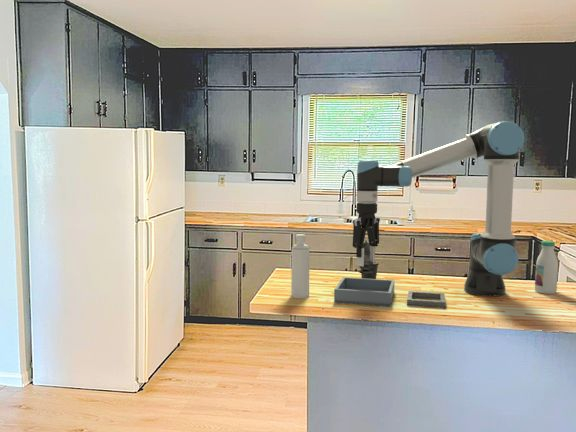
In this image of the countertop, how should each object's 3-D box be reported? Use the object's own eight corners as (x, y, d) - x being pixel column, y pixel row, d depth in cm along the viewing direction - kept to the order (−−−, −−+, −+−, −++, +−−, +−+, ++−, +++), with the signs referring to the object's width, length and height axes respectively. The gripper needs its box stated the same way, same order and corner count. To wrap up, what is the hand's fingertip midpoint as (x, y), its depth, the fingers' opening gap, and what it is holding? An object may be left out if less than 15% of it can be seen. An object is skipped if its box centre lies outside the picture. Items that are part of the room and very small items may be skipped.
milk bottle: (556, 290, 210) (559, 240, 208) (556, 295, 203) (559, 243, 201) (534, 288, 214) (537, 239, 211) (534, 293, 207) (537, 242, 204)
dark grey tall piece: (376, 271, 199) (377, 240, 197) (367, 274, 194) (368, 241, 193) (363, 269, 203) (363, 238, 201) (354, 272, 198) (355, 240, 197)
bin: (394, 292, 207) (394, 280, 206) (390, 306, 187) (390, 292, 187) (342, 289, 212) (343, 277, 211) (334, 302, 192) (334, 289, 192)
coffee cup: (364, 281, 226) (364, 258, 225) (382, 284, 221) (382, 260, 220) (355, 285, 219) (355, 261, 218) (373, 288, 214) (373, 263, 213)
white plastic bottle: (297, 292, 206) (298, 228, 204) (312, 295, 203) (312, 230, 200) (287, 296, 201) (288, 230, 198) (302, 299, 197) (303, 232, 194)
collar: (444, 298, 199) (444, 293, 198) (445, 308, 186) (445, 302, 186) (408, 296, 202) (408, 290, 202) (407, 305, 189) (407, 299, 189)
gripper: (359, 204, 186) (358, 269, 189) (390, 201, 200) (388, 262, 202) (342, 203, 192) (341, 266, 194) (373, 200, 205) (372, 259, 207)
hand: (365, 264), depth 198 cm, fingers closed on dark grey tall piece, 6 cm apart
